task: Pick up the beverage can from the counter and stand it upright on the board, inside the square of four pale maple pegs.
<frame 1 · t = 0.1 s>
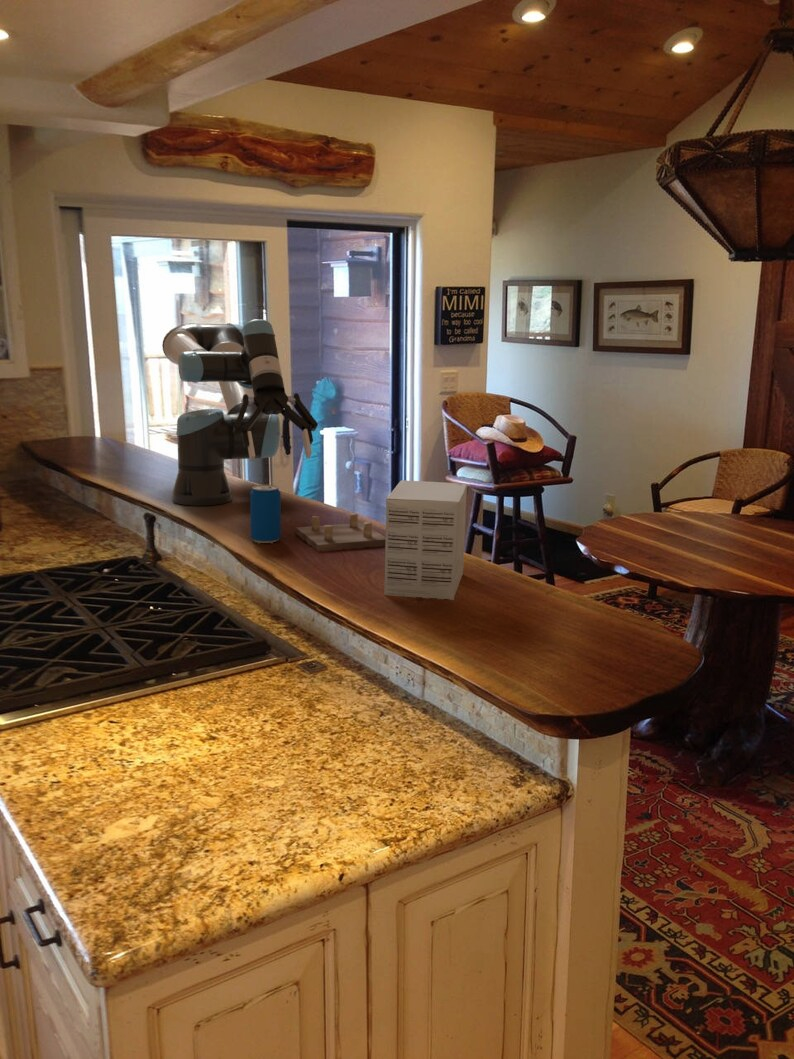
hand: (281, 457, 213), 15 cm above the counter, tool tilted 35°, fingers open, 13 cm apart
peg stand: (341, 539, 201), on the counter
supplement box: (424, 585, 170), on the counter
beverage can: (265, 541, 199), on the counter
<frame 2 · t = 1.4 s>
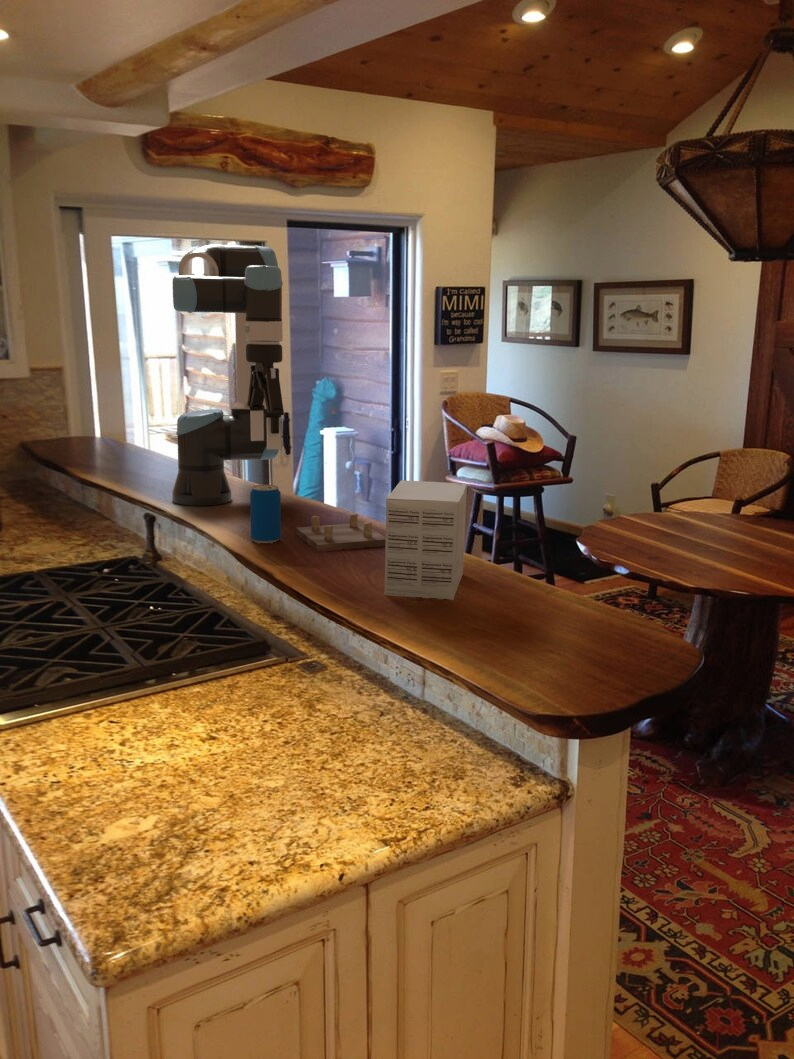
hand: (265, 444, 194), 21 cm above the counter, tool pointing down, fingers open, 13 cm apart
nothing on the counter moved.
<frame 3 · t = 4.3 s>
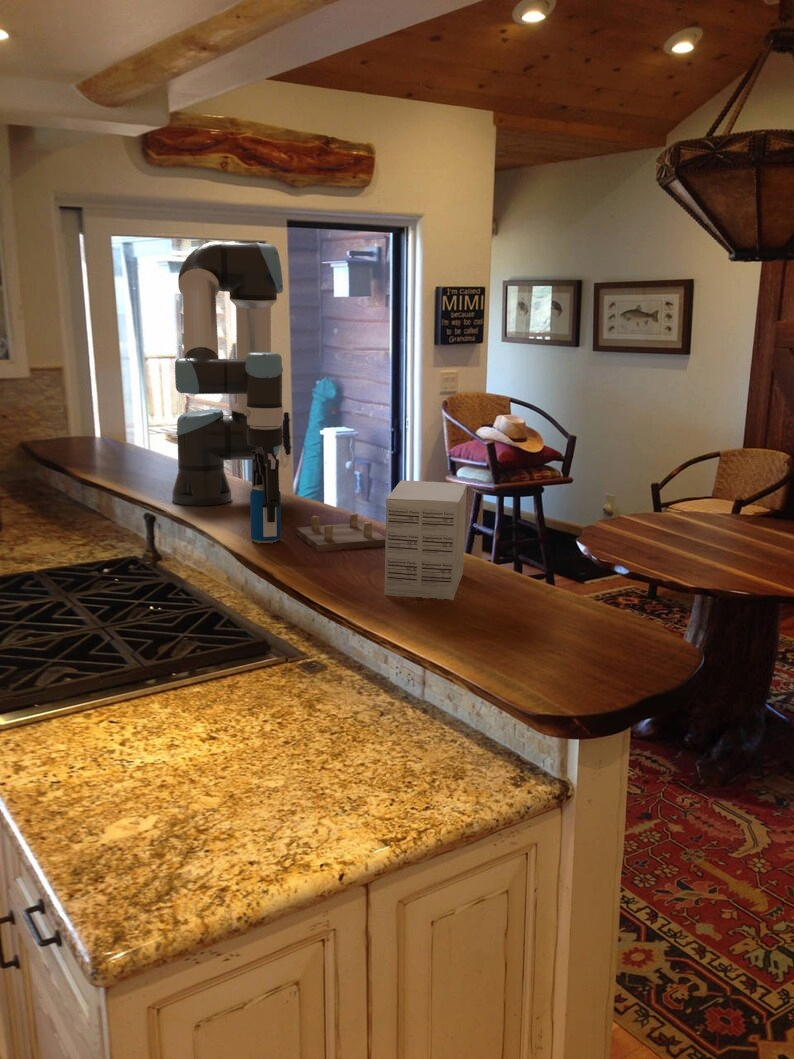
hand: (265, 532, 198), 2 cm above the counter, tool pointing down, fingers closed on beverage can, 6 cm apart
beverage can: (265, 541, 199), on the counter, touching gripper
everything else where it was.
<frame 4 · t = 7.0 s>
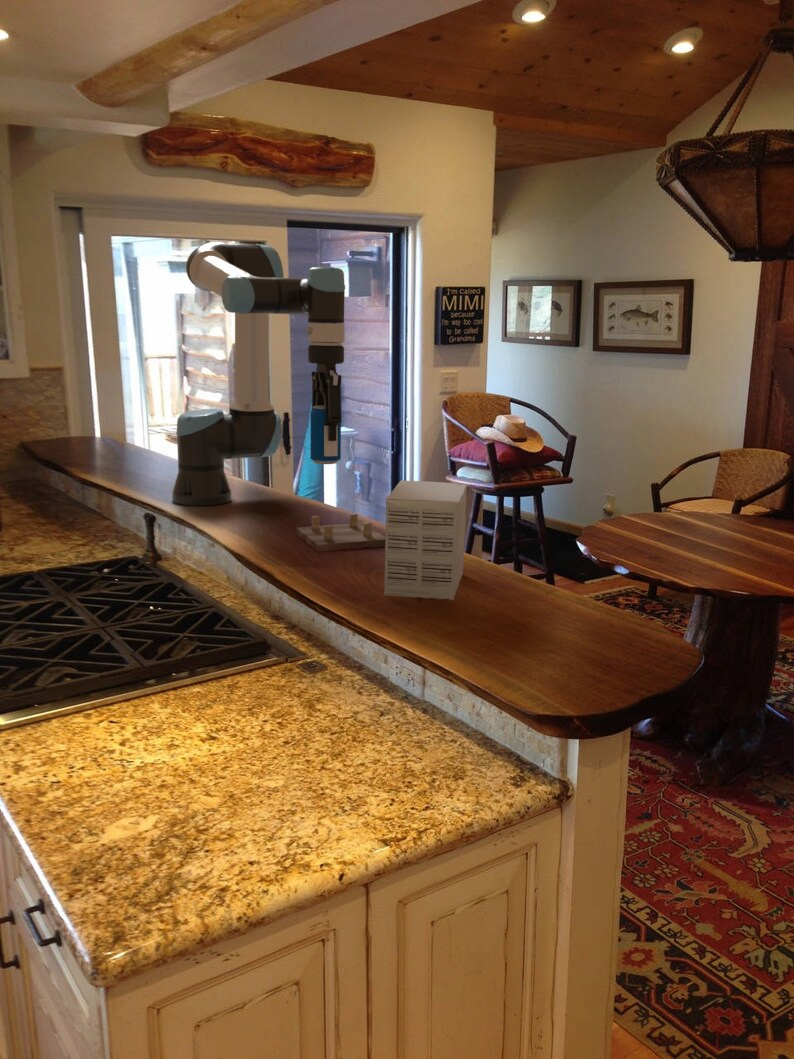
hand: (325, 453, 196), 19 cm above the counter, tool pointing down, fingers closed on beverage can, 6 cm apart
beverage can: (325, 463, 196), point 17 cm above the counter, touching gripper
everything else where it was.
when the fingers open (5 cm above the counter, at t = 10.0 s): beverage can drops 1 cm, resting on peg stand.
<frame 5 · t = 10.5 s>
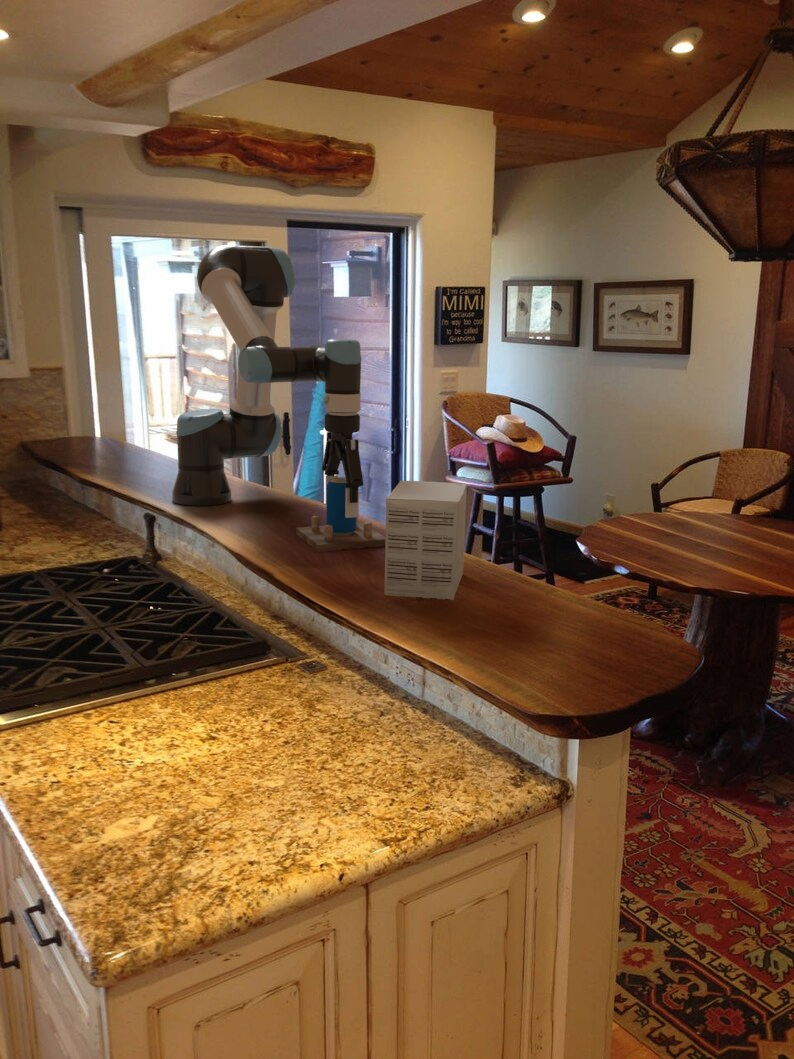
hand: (341, 510, 199), 7 cm above the counter, tool pointing down, fingers open, 13 cm apart
beverage can: (341, 534, 201), point 1 cm above the counter, touching peg stand
everything else where it was.
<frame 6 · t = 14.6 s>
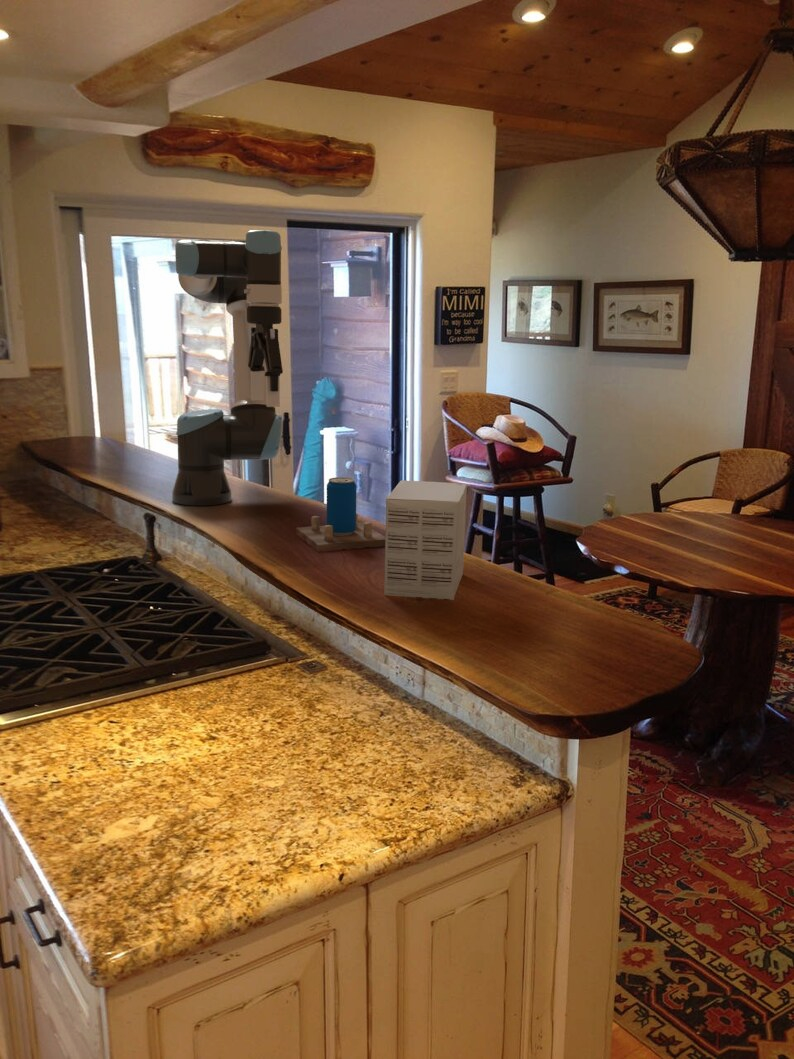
hand: (265, 403, 203), 29 cm above the counter, tool pointing down, fingers open, 13 cm apart
nothing on the counter moved.
at the end: beverage can 0.1 cm from the peg stand (horizontally); beverage can tilted 0°; beverage can point 1.3 cm above the counter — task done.
